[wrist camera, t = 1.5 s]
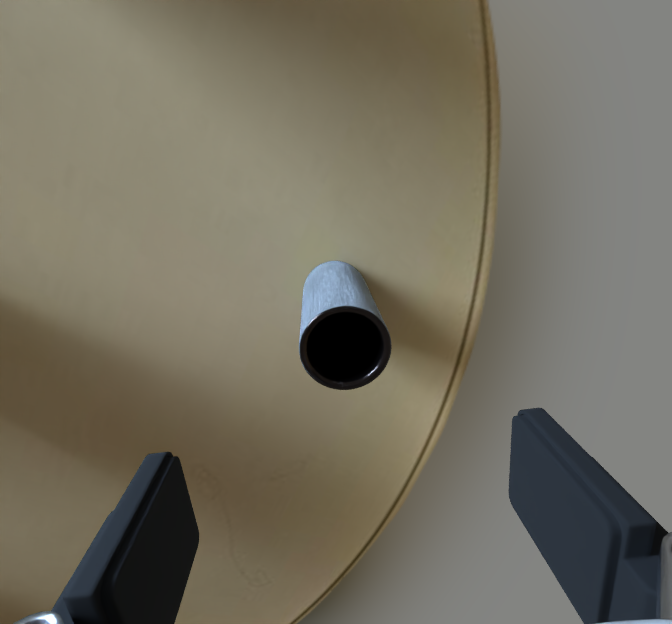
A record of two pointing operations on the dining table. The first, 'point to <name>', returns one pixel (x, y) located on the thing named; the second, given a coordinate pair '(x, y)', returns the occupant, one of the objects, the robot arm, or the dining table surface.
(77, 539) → the dining table surface
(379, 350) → the grey cylinder tube
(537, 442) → the robot arm
